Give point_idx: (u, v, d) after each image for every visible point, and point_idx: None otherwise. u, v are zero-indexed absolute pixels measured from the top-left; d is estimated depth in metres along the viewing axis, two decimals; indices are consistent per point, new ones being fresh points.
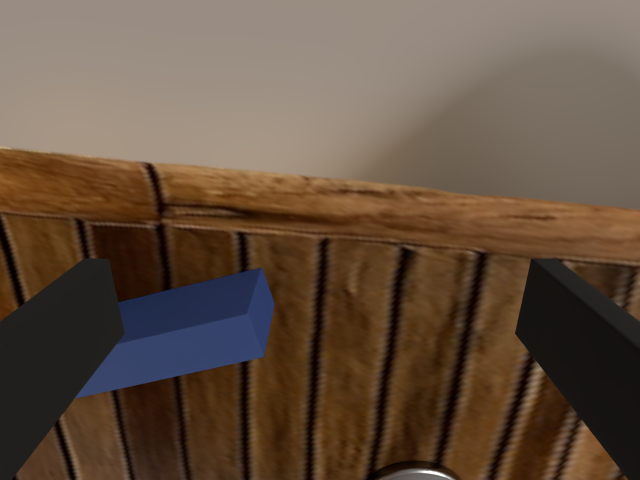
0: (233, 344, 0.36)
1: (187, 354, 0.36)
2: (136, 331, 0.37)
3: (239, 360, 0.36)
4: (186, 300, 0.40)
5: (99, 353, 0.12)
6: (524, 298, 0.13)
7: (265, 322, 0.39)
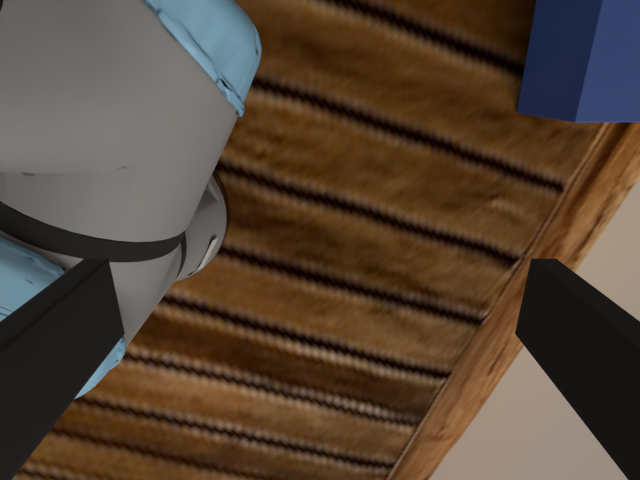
0: (610, 89, 0.28)
1: (630, 18, 0.27)
2: None
3: (585, 88, 0.28)
4: None
5: (98, 353, 0.12)
6: (524, 298, 0.13)
7: None
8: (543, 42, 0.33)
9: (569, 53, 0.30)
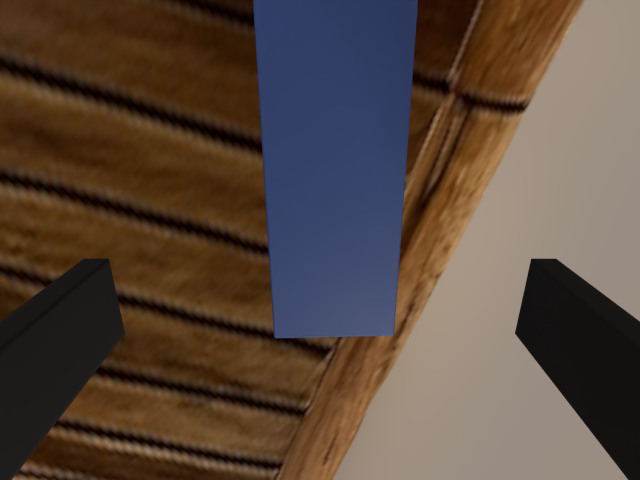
0: (324, 287, 0.15)
1: (327, 169, 0.13)
2: None
3: (276, 287, 0.15)
4: None
5: (99, 353, 0.12)
6: (524, 298, 0.13)
7: None
8: None
9: None
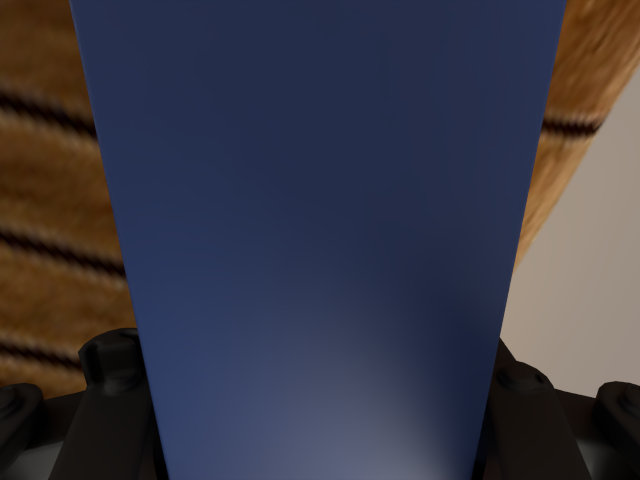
0: None
1: (299, 347, 0.05)
2: None
3: None
4: None
5: None
6: None
7: None
8: None
9: None
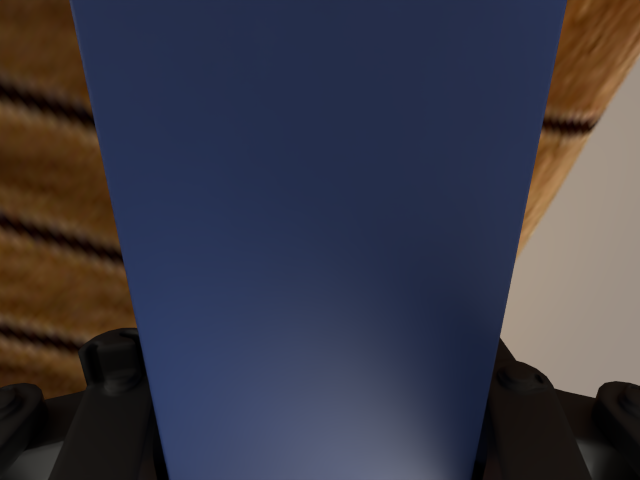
0: None
1: (299, 348, 0.05)
2: None
3: None
4: None
5: None
6: None
7: None
8: None
9: None
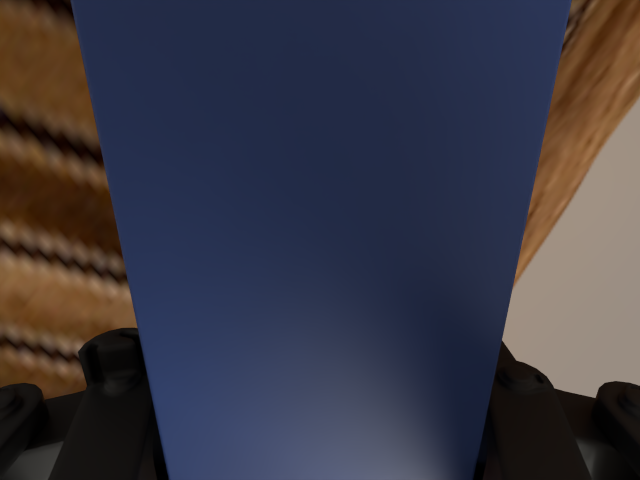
0: None
1: (301, 350, 0.05)
2: None
3: None
4: None
5: None
6: None
7: None
8: None
9: None
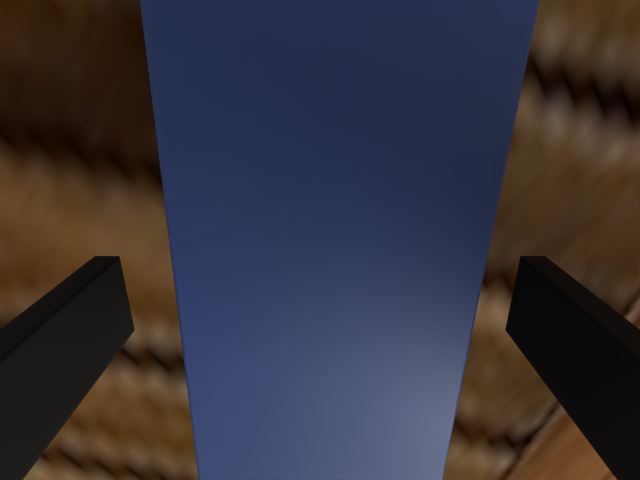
0: None
1: (310, 296, 0.06)
2: None
3: None
4: None
5: (110, 348, 0.12)
6: (514, 295, 0.13)
7: None
8: None
9: None
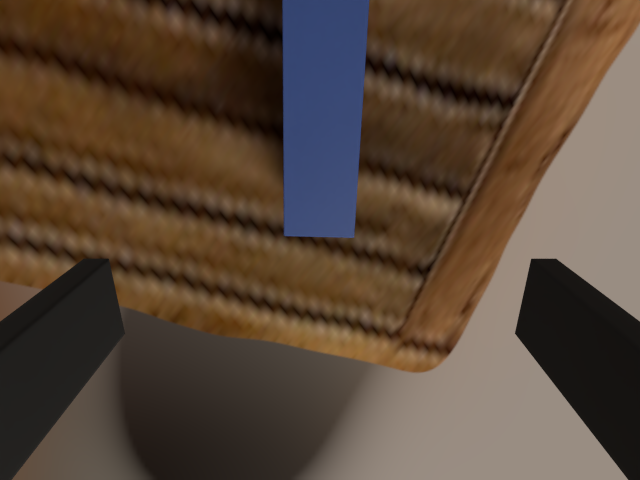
0: (314, 204, 0.26)
1: (317, 135, 0.24)
2: None
3: (287, 203, 0.26)
4: None
5: (99, 353, 0.12)
6: (524, 298, 0.13)
7: None
8: None
9: None
